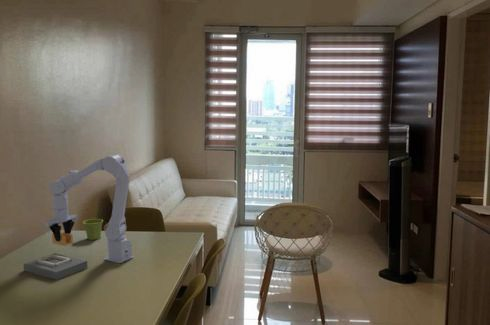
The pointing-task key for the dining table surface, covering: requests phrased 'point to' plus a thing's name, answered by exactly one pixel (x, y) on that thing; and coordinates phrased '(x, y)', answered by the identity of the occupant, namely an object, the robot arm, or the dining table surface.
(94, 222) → the plant pot
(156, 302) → the dining table surface
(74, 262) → the large grey panel
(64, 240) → the chute
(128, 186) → the robot arm
